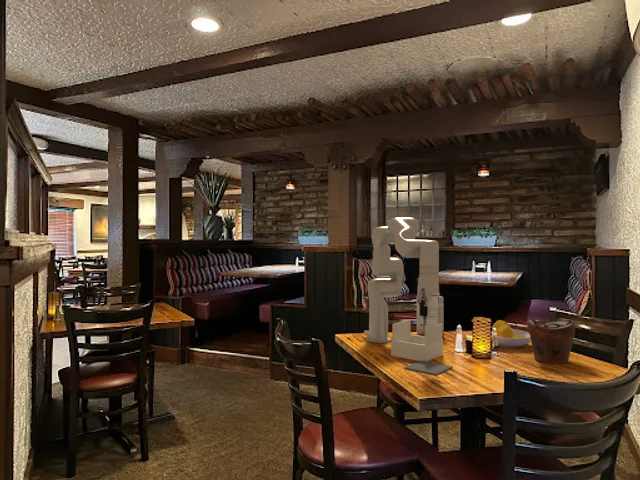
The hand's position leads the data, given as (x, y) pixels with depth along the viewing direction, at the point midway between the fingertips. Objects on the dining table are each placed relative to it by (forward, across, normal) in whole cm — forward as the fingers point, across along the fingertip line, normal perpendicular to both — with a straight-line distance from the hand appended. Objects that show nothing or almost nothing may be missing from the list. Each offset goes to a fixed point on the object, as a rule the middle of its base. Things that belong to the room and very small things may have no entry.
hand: (428, 314), depth 188 cm
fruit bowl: (+22, -65, +6) cm, 69 cm away
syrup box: (+6, 0, 0) cm, 6 cm away
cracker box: (+22, -62, -32) cm, 73 cm away
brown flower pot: (+22, -47, +33) cm, 61 cm away
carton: (+21, -16, -14) cm, 30 cm away
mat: (+21, 0, 0) cm, 21 cm away
